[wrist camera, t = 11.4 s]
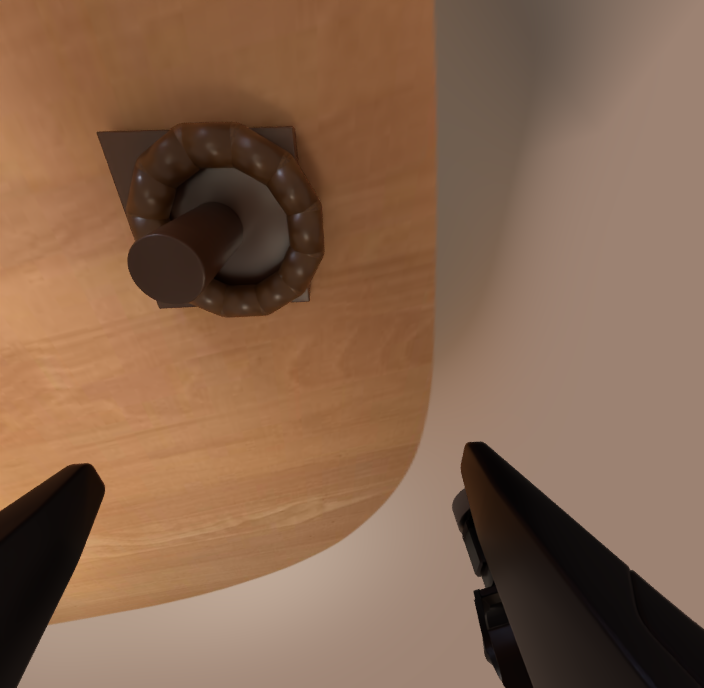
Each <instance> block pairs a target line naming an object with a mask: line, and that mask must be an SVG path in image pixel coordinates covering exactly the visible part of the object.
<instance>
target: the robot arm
mask: <svg viewBox="0 0 704 688" xmlns="http://www.w3.org/2000/svg"><path fill="white" fill-rule="evenodd" d="M461 474H462V478H463V482H464V485H465V490H466V493H467V497H468V501H469V505H470V509H469V513H468V517H467V520H466V522H465V525H464V529H463V532H462V538H463V541H464V542H465V545H466V548H467V551H468V554H469V557H470V560H471V563H472V566H473V569H474V572H475V574H476V575H477V576H478V577H481V576H482V579H483V582H484V584H485V588H484V589H481V590H479V589H478V590H475V591H474V596H475V600H474V601H475V606H476V610H477V614H478V619H479V623H480V628H481V632H482V637H483V645H484V654H485V657H486V659H487V661H488V662H489V663H491V664H492V665H493V666H494V668H495V670H496V672H497V674H498V676H499V678H500V680H501V681H502V683H503V685H504V686H505V688H704V629H703V628H702V627H700V626H699V625H698V624H697V623H695V622H694V621H692V619H690V618H689V617H688V616H687V615H685V614H684V613H683V612H682V611H681V610H679V609H678V608H677V607H676V606H675V605H673V604H672V603H671V602H670V601H669V600H667V599H666V598H665V597H663V595H661V594H660V593H659V592H658V591H657V590H655V589H654V588H653V587H652V586H651V585H650V584H648V583H647V582H646V581H645V580H644V579H643V578H641V577H640V576H639V575H638V574H637V573H636V572H635V571H633V570H630V569H629V567H628V566H627V565H626V564H625V563H624V562H623V561H622V560H620V559H619V558H618V557H617V556H616V555H614V554H613V553H612V552H611V551H610V550H609V549H608V548H606V547H605V546H604V545H603V544H602V543H601V542H599V541H598V540H597V539H596V538H595V537H594V536H592V535H591V534H590V533H589V532H588V531H586V530H585V529H584V528H583V527H582V526H581V525H580V524H579V523H577V522H576V521H575V520H574V519H573V518H571V517H570V516H569V515H568V514H567V513H566V512H565V511H563V510H562V509H561V508H560V507H559V506H558V505H556V504H555V503H554V502H553V501H551V499H549V498H548V497H547V496H546V495H545V494H544V493H542V492H541V491H540V490H539V489H538V488H537V487H535V486H534V485H533V484H532V483H531V482H530V481H529V480H527V479H526V478H525V477H524V476H523V475H522V474H520V473H519V472H518V471H517V470H515V468H513V467H512V466H511V465H510V464H509V463H508V462H506V461H505V460H504V459H503V458H502V457H501V456H499V455H498V454H497V453H496V452H495V451H494V450H492V449H491V448H490V447H489V446H488V445H487V444H485V443H484V442H468V443H466V445H465V448H464V453H463V457H462V462H461ZM104 494H105V485H104V483H103V481H102V480H101V478H100V476H99V475H98V473H97V472H96V470H95V468H94V467H93V466H92V465H91V464H89V463H83V464H72V465H69V466H67V467H65V468H64V469H62V470H61V471H59V472H58V473H56V474H55V475H53V476H52V477H50V478H49V479H47V480H46V481H44V482H43V483H41V484H40V485H38V486H37V487H35V488H34V489H33V490H31V491H30V492H28V493H27V494H25V495H24V496H22V497H21V498H19V499H18V500H16V501H15V502H13V503H12V504H10V505H9V506H7V507H6V508H4V509H3V510H1V511H0V688H17V686H18V684H19V682H20V680H21V678H22V676H23V674H24V672H25V669H26V667H27V665H28V664H29V661H30V660H31V657H32V655H33V653H34V651H35V649H36V647H37V645H38V643H39V641H40V639H41V637H42V635H43V633H44V631H45V629H46V627H47V625H48V623H49V621H50V619H51V617H52V615H53V613H54V611H55V609H56V607H57V605H58V603H59V601H60V599H61V597H62V595H63V593H64V591H65V588H66V586H67V584H68V582H69V580H70V578H71V576H72V574H73V572H74V570H75V568H76V566H77V564H78V561H79V559H80V556H81V554H82V552H83V549H84V547H85V544H86V541H87V539H88V536H89V534H90V531H91V528H92V526H93V523H94V520H95V518H96V515H97V513H98V510H99V507H100V505H101V502H102V500H103V497H104Z"/></svg>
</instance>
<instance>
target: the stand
mask: <svg viewBox="0 0 704 688" xmlns="http://www.w3.org/2000/svg"><path fill="white" fill-rule="evenodd" d="M249 129H251V130H253V131H254V132H256V133H258V134H259V135H261V136H263V137H264V138H266V139H268V140H269V141H271V142H273V143H274V144H276V145H278V146H279V147H281V148H283V149H285V150H286V151H288V152H289V153H290V154H291V155H292V156H293V158H294V159H295V161H296V162H297V164H298V156H297V146H296V135H295V128H294V127H291V126H290V127H253V128H249ZM168 131H169V130H140V131H103V132H97V135H98V138H99V141H100V144H101V146H102V149H103V152H104V155H105V158H106V160H107V163H108V166H109V169H110V172H111V175H112V177H113V180H114V183H115V186H116V189H117V191H118V194H119V197H120V200H121V203H122V205H123V208H124V211H125V214H126V205H127V200H128V195H129V190H130V186H131V181H132V176H133V171H134V166H135V162H136V160H137V158H138V157H139V156H140V155H141V154H142V153H143V152H144V151H145V150H147V149H148V148H149V147H150V146H151V145H153V144H154V143H155V142H156V141H157V140H159V139H160V138H161V137H162V136H163V135H165V134H166V133H167V132H168ZM126 217H127V214H126ZM169 218H170V222H168V223H166V224H165V225H163V226H161V227H159V228H157V229H156V230H154V231H152V232H150V233H148V234H146V235H145V236H143V237H141V238H139V239H138V240H137V241H136V240H135V242H134V244H133V245H132V246H131V248H130V250H129V253H128V269H129V272H130V275H131V277H132V279H133V280H134V282H135V283H136V285H137V286H138V287H139V288H140V289H141V290H142V291H143V292H144V293H145V294H146V295H148V296H149V297H151V298H153V299H154V300H156V301H157V304H158V306H159V308H160V309H161V308H182V307H197V306H195V305H192V304H190V303H189V302H192V301H193V300H195V299H196V298H198V297H199V296H200V295H201V293H202V292H203V291H204V290H205V288H206V287H207V286H208V285H209V283H210V282H211V281H212V280H213V279H215V280H218V281H220V282H222V283H225V284H227V285H252V284H258V283H260V282H261V281H263V280H265V279H266V278H268V277H269V276H271V275H272V274H274V273H275V272H277V271H279V269H280V267H281V264H282V262H283V260H284V258H285V256H286V253H287V251H288V249H289V247H290V242H289V234H288V225H287V216H286V214H285V212H284V211H283V209H282V208H281V206H280V205H279V203H278V202H277V200H276V199H275V197H274V196H273V195H272V193H271V192H270V190H269V189H268V187H267V186H266V185H264V184H263V183H261V182H259V181H257V180H255V179H254V178H252V177H250V176H248V175H246V174H244V173H243V172H241V171H239V170H237V169H235V168H211V169H200V170H199V171H198V172H196V173H195V174H194V175H192V176H191V177H190V178H189V179H187V180H186V181H185V182H183V183H182V184H181V185H180V186H178V187H177V190H176V194H175V197H174V201H173V205H172V209H171V212H170V216H169ZM127 219H128V218H127ZM128 222H129V220H128ZM129 225H130V223H129ZM130 228H131V226H130ZM131 231H132V229H131ZM132 233H133V232H132ZM133 236H134V235H133ZM134 239H135V238H134ZM307 301H310V283H309V285H308V287H307V289H306V291H305V292H304V293H303V294H302V295H301V296H299V297H298V298H296V299H294V300H293V301H291V302H307Z"/></svg>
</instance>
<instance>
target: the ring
mask: <svg viewBox="0 0 704 688" xmlns="http://www.w3.org/2000/svg"><path fill="white" fill-rule="evenodd" d="M211 168H235V169H237V170H239V171H241V172H243V173H244V174H246V175H248V176H250V177H252V178H254V179H255V180H257V181H259V182H261V183H263V184H264V185H266V186H267V187H268V189H269V190H270V192H271V193H272V195H273V196H274V197H275V199H276V200H277V202H278V203H279V205H280V206H281V208H282V209H283V211H284V212H285V214H286V216H287V225H288V234H289V242H290V247H289V249H288V251H287V253H286V256H285V258H284V260H283V262H282V264H281V267H280V269H279V271H277V272H275V273H274V274H272V275H271V276H269V277H268V278H266V279H265V280H263V281H261V282H260V283H258V284H252V285H227V284H225V283H222V282H220V281H218V280H215V279H213V280H212V281H211V282H210V283H209V285H208V286H207V287H206V288H205V290H204V291H203V292H202V293H201V295H200V296H199V297H198V298H196V299H195V300H193V301H192V302H189V303H190V304H192V305H195V306H197V307H199V308H202V309H204V310H207V311H209V312H212V313H214V314H216V315H219V316H221V317H247V316H266V315H269V314H271V313H273V312H275V311H276V310H278V309H280V308H281V307H283V306H285V305H286V304H288V303H289V302H291V301H293V300H294V299H296V298H298V297H299V296H301V295H302V294H303V293H304V292H305V291H306V289H307V287H308V285H309V283H310V281H311V279H312V277H313V276H314V274H315V272H316V270H317V268H318V266H319V264H320V262H321V260H322V258H323V255H324V235H323V219H322V206H321V202H320V200H319V198H318V196H317V195H316V193H315V192H314V190H313V188H312V187H311V185H310V183H309V182H308V180H307V178H306V177H305V175H304V174H303V172H302V170H301V169H300V167H299V165H298V164H297V162H296V161H295V159H294V158H293V156H292V155H291V154H290V153H289V152H288V151H286V150H285V149H283V148H281V147H279V146H278V145H276V144H274V143H273V142H271V141H269V140H268V139H266V138H264V137H263V136H261V135H259V134H258V133H256V132H254V131H253V130H251V129H249V128H248V127H246V126H244V125H242V124H240V123H237V122H201V123H181V124H178V125H176V126H174V127H173V128H172V129H171V130H169V131H168V132H167V133H166V134H165V135H163V136H162V137H161V138H160V139H159V140H157V141H156V142H155V143H154V144H153V145H151V146H150V147H149V148H148V149H147V150H145V151H144V152H143V153H142V154H141V155H140V156H139V157H138V158H137V160H136V162H135V166H134V171H133V176H132V181H131V186H130V190H129V195H128V200H127V205H126V214H127V218H128V220H129V223H130V226H131V229H132V232H133V235H134V238H135V240H136V241H137V240H138V239H139V238H141V237H143V236H145V235H146V234H148V233H150V232H152V231H154V230H156V229H157V228H159V227H161V226H163V225H165V224H166V223H168V222H170V218H169V216H170V212H171V209H172V205H173V201H174V197H175V194H176V190H177V187H178V186H180V185H181V184H182V183H183V182H185V181H186V180H187V179H189V178H190V177H191V176H192V175H194V174H195V173H196V172H198V171H199V170H200V169H211Z"/></svg>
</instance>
